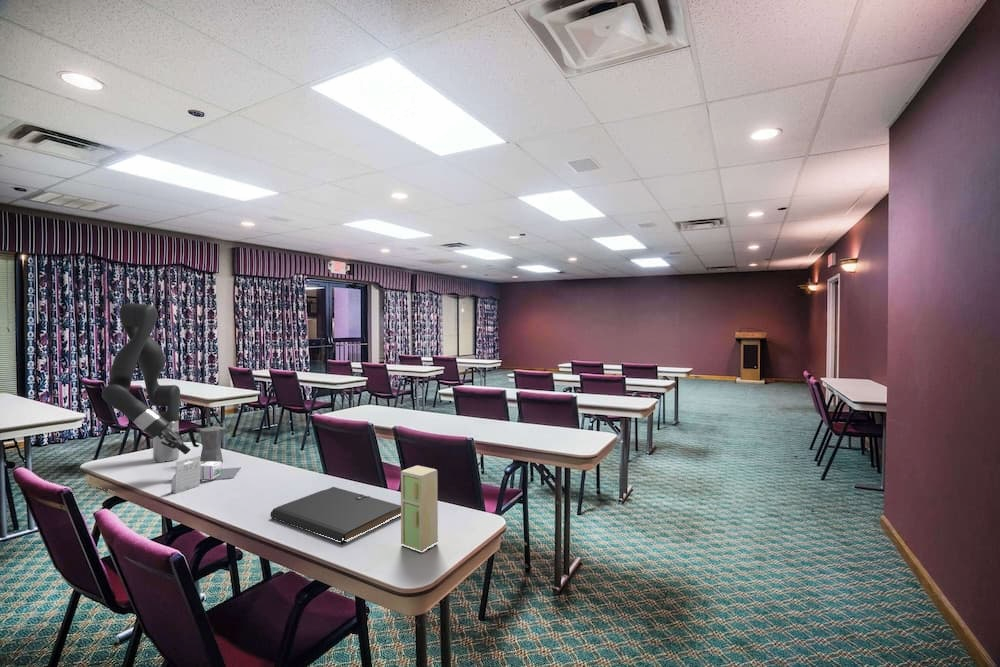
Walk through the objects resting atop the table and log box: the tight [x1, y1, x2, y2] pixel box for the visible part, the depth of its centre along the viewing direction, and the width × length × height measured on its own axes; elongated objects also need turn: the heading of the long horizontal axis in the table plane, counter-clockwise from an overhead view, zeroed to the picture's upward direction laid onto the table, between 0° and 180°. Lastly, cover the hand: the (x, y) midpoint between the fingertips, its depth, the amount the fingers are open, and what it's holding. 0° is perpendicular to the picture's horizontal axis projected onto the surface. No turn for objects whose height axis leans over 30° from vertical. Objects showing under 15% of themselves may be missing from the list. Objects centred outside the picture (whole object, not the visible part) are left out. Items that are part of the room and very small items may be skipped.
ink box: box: [170, 455, 201, 494], centre depth 170 cm, size 3×9×12 cm, turn 160°
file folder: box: [269, 486, 401, 543], centre depth 147 cm, size 33×4×24 cm
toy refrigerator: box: [400, 465, 439, 551], centre depth 128 cm, size 8×7×21 cm
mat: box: [200, 466, 241, 482], centre depth 186 cm, size 18×14×1 cm
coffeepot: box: [188, 421, 229, 463], centre depth 202 cm, size 15×9×18 cm, turn 103°
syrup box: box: [175, 460, 223, 481], centre depth 182 cm, size 6×6×14 cm
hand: (188, 452), depth 184 cm, fingers closed
